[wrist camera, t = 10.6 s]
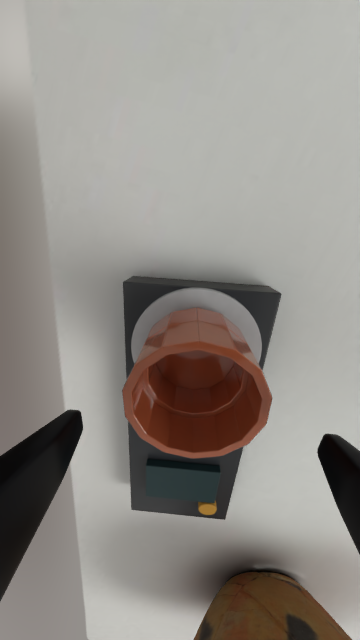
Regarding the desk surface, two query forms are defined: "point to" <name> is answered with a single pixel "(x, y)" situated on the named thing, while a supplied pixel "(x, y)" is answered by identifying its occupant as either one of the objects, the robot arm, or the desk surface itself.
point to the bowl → (267, 611)
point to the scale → (139, 315)
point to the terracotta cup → (196, 386)
